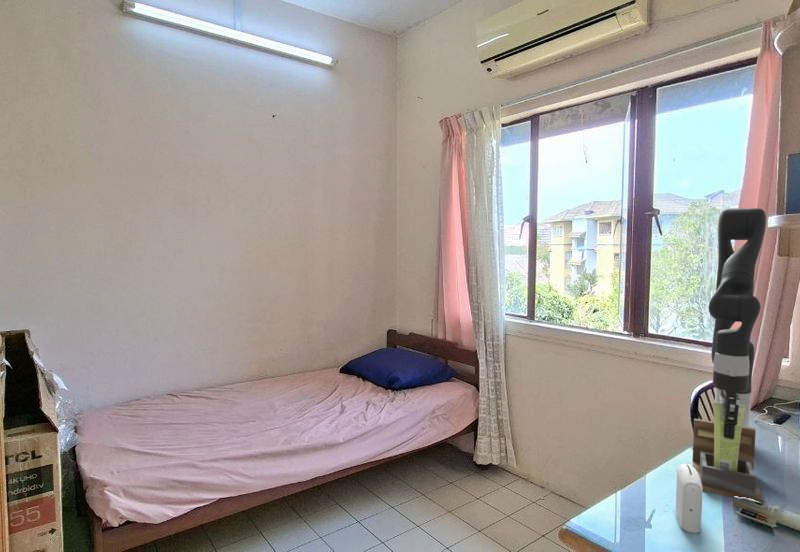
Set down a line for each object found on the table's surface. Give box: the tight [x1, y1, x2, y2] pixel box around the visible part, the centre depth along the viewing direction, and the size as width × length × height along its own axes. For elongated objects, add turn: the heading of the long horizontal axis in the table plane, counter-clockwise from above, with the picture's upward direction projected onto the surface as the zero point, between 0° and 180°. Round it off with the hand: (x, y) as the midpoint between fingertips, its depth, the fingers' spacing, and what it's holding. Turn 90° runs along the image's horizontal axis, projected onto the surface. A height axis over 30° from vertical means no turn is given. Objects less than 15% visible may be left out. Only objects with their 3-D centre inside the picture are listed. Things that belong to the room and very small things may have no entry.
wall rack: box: [692, 418, 764, 504], centre depth 122 cm, size 17×14×13 cm
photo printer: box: [675, 463, 703, 534], centre depth 105 cm, size 10×4×12 cm, turn 156°
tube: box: [712, 402, 745, 472], centre depth 120 cm, size 6×5×20 cm
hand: (727, 434), depth 119 cm, fingers closed on tube, 4 cm apart
